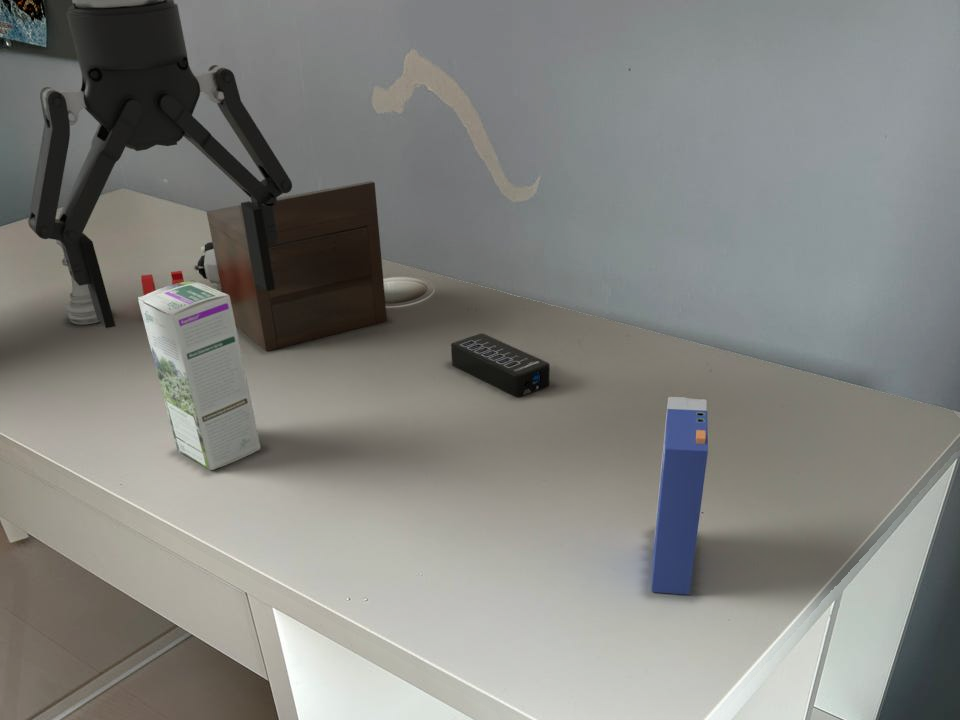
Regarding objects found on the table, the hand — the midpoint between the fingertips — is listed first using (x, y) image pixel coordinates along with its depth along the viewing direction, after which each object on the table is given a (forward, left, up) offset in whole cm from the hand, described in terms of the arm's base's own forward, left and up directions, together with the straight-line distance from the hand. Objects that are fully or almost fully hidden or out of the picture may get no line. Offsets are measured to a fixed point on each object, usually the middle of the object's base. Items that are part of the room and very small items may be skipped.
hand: (188, 304), depth 81 cm
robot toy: (-43, +20, -14) cm, 50 cm away
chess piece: (-41, -1, -14) cm, 43 cm away
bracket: (-39, +8, -14) cm, 42 cm away
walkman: (+37, +22, -14) cm, 45 cm away
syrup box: (0, 0, -14) cm, 14 cm away
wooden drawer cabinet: (-25, +20, -14) cm, 35 cm away
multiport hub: (+1, +30, -14) cm, 33 cm away
